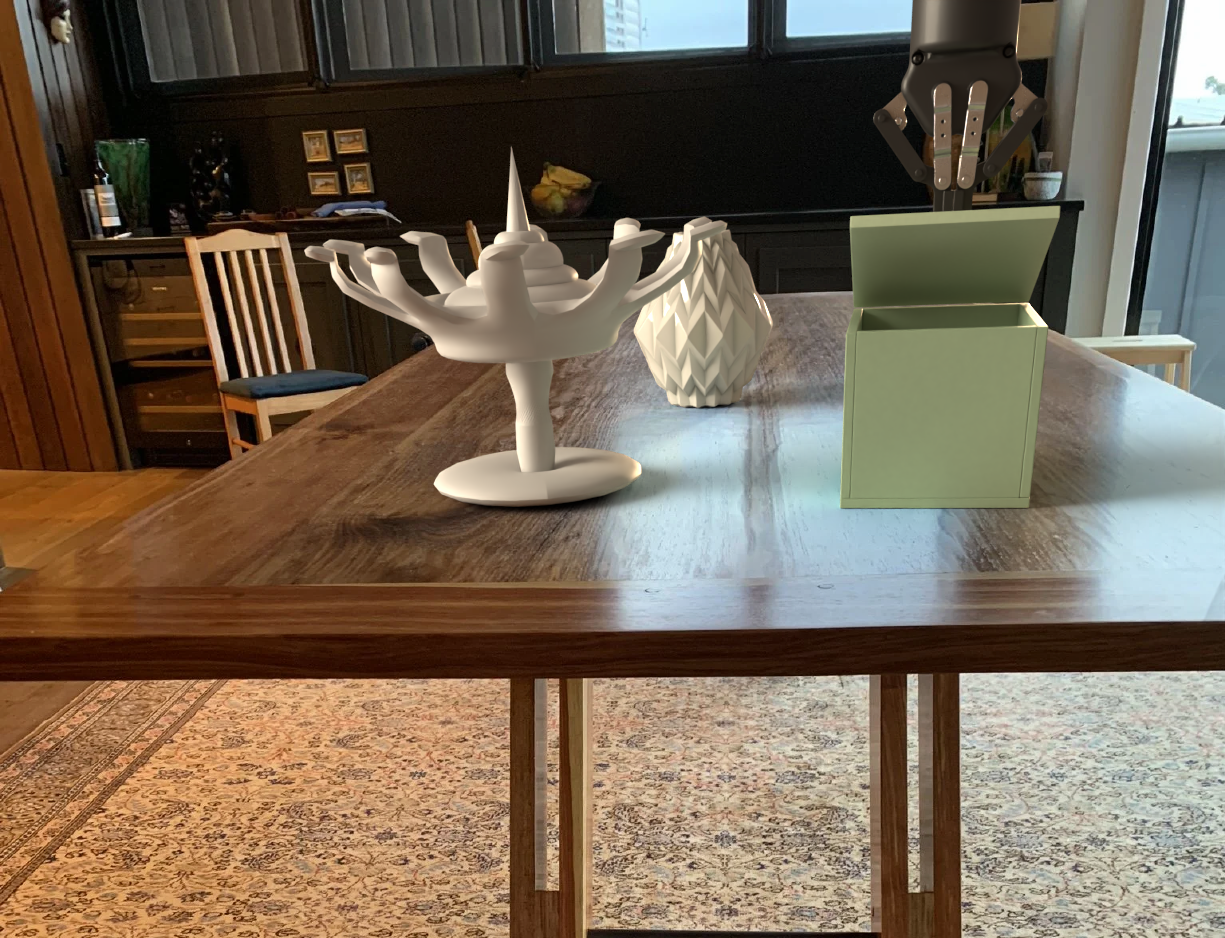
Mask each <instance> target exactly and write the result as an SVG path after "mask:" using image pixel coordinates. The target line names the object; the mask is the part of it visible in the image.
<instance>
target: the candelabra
mask: <svg viewBox="0 0 1225 938" xmlns="http://www.w3.org/2000/svg"><path fill="white" fill-rule="evenodd" d="M509 163H510V164H509V165H510V166H509V178H508V179H509V182H508V197H507V198H508V200H507V216H506V230H505V231H501V232H499V233H498V234H497V235H495V238H494V241H493V243H492V244H489V245H487V246H486V247H485V248H484V249H482V251H481V253H480V254H479V257H478V261H477V263H478V264H477V266H478V269H477V270H475V271H473V272H471V273H470V274H469V275H468V276H467V278H465V277H464V276H463V275H462V273H461V272H460V271H459V269H458V268H457V267H456V265H455V263H454V261H453V259H452V256H451V254H450V250H449V247H448V242H447V239H446V238H445V236H444V235H441V234H437V233H434V232H427V231H425V232H424V231H414V230H411V231H408V232H406V233H403V234H401V235H399V237H400V238H402V239H403V240H404V241H405V242H406V243H409V244H412V245H417V246H418V256H419V261H420V264H421V267H422V270H423V272H424V273H425V274H426V275H427V277H428V278H429V279H430V280H431V282H432V283H433V285H434V286H435V287H436V288H437V290H438V292H439V293H438V294H432V295H428V296H423V295H422V294H420V293H419V292H418V291H416V290H415V289H414V288H413V287H412V286H409V284H408V282H407V281H406V279H405V277H404V276H403V275H402V273H401V269H400V264H399V260H398V256H397V254H396V253H395V252H394V250H392V249H391V248H386V247H380V246H374V247H371V248H368V249H366V248H365V244H364V243H361V242H354V241H349V240H342V239H328V240H327V241H325V242H324V243H322V246H315V245H309V246H307V247H306V248H305V249H304V253H305V256H306V257H308V258H310V259H313V260H316V261H319V262H325V263H329V267H330V273H331V277H332V279H333V281H334V282H335V283H336V285H337V286H338V287H339V290H341V292H342V293H343V294H344V295H347V296H348V297H351V298H352V299H353V300H355V301H358V302H359V303H361V304H363V305H365V306H367V307H369V308H370V309H373V310H376V311H378V312H381V313H383V314H385V315H387V316H390V317H392V318H394V319H396V320H398V321H401V322H404V323H405V324H407V325H410V326H412V327H414V328H416V329H419V330H420V331H422V332H423V333H425V334H426V335H428V336H429V337H430V338H431V340H432V342H433V343H434V346H435V349H436V351H437V353H438V354H439V355H440V356H441V357H442V358H443V357H444V358H445V359H448V360H453V361H458V362H465V363H476V364H505V375H506V377H507V380H508V382H509V385H510V388H511V390H512V394H513V397H514V402H515V408H516V409H515V411H516V414H515V415H516V416H515V440H516V441H515V442H516V443H515V445H516V449H512V450H504V451H500V452H494V453H489V454H483V455H479V456H475V457H472V458H470V459H466V460H463V461H460V462H457V463H455V464H453V465H451V466H449V467H447V468H445V469H443V470H442V471H440V472H439V473H438V475H437V476H436V478H435V479H434V482H433V485H434V487H435V488H436V489H437V491H438V492H439V493H440V494H441V495H442V496H445V497H447V498H450V499H452V500H456V501H459V502H462V503H465V504H466V503H467V504H473V505H480V506H489V507H517V508H518V507H537V506H538V507H539V506H550V505H559V504H566V503H567V504H568V503H574V502H579V501H583V500H588V499H592V498H597V497H603V496H606V495H609V494H612V493H614V492H617V491H619V490H622V489H625V488H626V487H628V486H630V485H631V484H632V483H634V482H635V481H637V480H638V479H639V478H640V477H641V474H642V465H641V464H640V462H639V461H637V460H635V459H633V458H632V457H630V456H629V455H626V454H624V453H619V452H616V451H612V450H607V449H600V448H589V447H580V446H556V442H555V435H554V434H555V433H554V426H553V425H554V423H553V418H552V415H551V411H550V390H551V385H552V380H553V374H554V363H553V361H556V360H563V359H564V360H565V359H570V358H577V357H581V356H582V357H583V356H586V355H591V354H594V353H597V352H598V353H599V352H600V351H603V350H607V349H609V348H610V347H612V346H614V345H615V344H616V342H617V340H618V338H619V332H620V329H621V326H622V324H623V323H624V322H625V321H627V320H628V319H629V318H631V316H632V315H634V314H635V313H636V312H638V311H640V309H642V308H643V306H645V305H646V304H648V303H650V302H651V301H653V300H654V299H656V298H658V297H659V296H661V295H662V294H664V293H666V292H667V291H669V290H670V289H671V288H673V287H674V286H675V285H676V284H678V283H679V282H680V281H681V280H683V279H684V278H685V277H686V276H688V275H689V274H690V273H691V272H693V271H694V270H695V268H696V266H697V263H698V261H699V259H700V257H701V255H702V240H703V239H706V238H709V237H712V236H715V235H717V234H718V233H720V232H722V231H724V230H727V226H728V222H725V221H724V220H716V221H713V220H712V219H709V217H706V216H701V217H698V218H695V219H692V220H691V221H689V222H687V223H685V224H684V226H683V232H684V238H683V241H682V243H681V246H680V248H679V250H678V252H677V254H676V255H675V256H674V257H673V258H672V259H671V260H669V261H668V262H667V263H666V264H665V265H664V266H663V267H661V268H660V269H659V270H658V271H657V270H656V271H657V272H656V271H655V272H654V273H651V274H649V275H648V276H646V277H644V278H642V279H640V280H639V281H638V279H639V276H640V272H641V267H642V264H643V253H642V248H644V247H647V246H650V245H653V244H656V243H657V242H658V241H660V240H661V239H662V238H663V237H664V236H665V235H666V233H665V232H662V231H658V230H655V229H648V230H642V231H640V228H641V223H640V222H639V220H636V219H635V218H630V217H625V218H620V219H618V220H616V221H615V223H614V227H613V228H614V229H613V239H611V240H610V243H609V245H608V257H607V259H606V260H605V262H604V264H603V265H602V266H601V267H600V269H599V270H598V271H597V272H596V273H594V274H593V275H592V276H591V277H589V279H587V280H586V279H582V278H579V274H578V272H577V270H576V269H575V268H573V266H570V265H567V264H564V256H563V252H562V251H561V249H560V248H559V247H558V246H557V244H556V243H553V242H552V241H549V239H548V233H547V231H546V230H544V229H543V228H541V227H539V226H538V225H536V224H530V222H529V220H528V215H527V210H526V206H525V201H524V197H523V193H522V187H521V183H520V178H519V174H518V169H517V166H516V161H515V156H514V152H513V148H512V146H510V161H509ZM337 253H338V254H342V255H347V256H348V263H349V269H350V271H351V273H352V274H353V276H354V278H355V279H356V281H357V283H355V282H353V281H352V280H351V279H349V278H348V276H347V275H346V273H345V272H344V271H343V270H342V269H341V267H340V266H339V262H338V257H337Z"/></svg>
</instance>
